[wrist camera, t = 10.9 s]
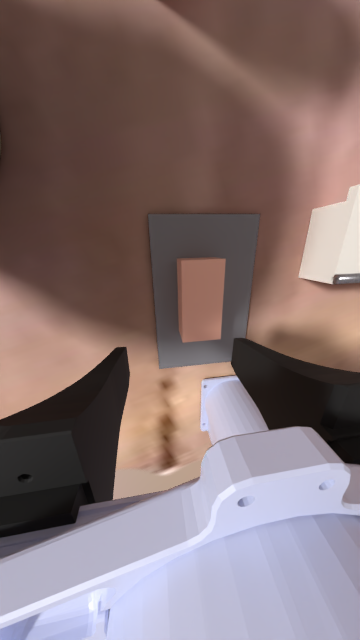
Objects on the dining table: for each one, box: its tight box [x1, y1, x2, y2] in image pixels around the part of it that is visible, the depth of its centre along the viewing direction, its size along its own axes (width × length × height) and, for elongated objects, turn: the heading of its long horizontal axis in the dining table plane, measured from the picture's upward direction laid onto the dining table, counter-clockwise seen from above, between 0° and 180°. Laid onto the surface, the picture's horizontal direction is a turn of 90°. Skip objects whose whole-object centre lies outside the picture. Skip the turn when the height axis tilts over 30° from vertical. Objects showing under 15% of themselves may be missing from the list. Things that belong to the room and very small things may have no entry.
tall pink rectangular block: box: [177, 257, 226, 343], centre depth 19 cm, size 8×4×3 cm, turn 1°
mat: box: [148, 214, 260, 369], centre depth 21 cm, size 17×11×1 cm, turn 1°
